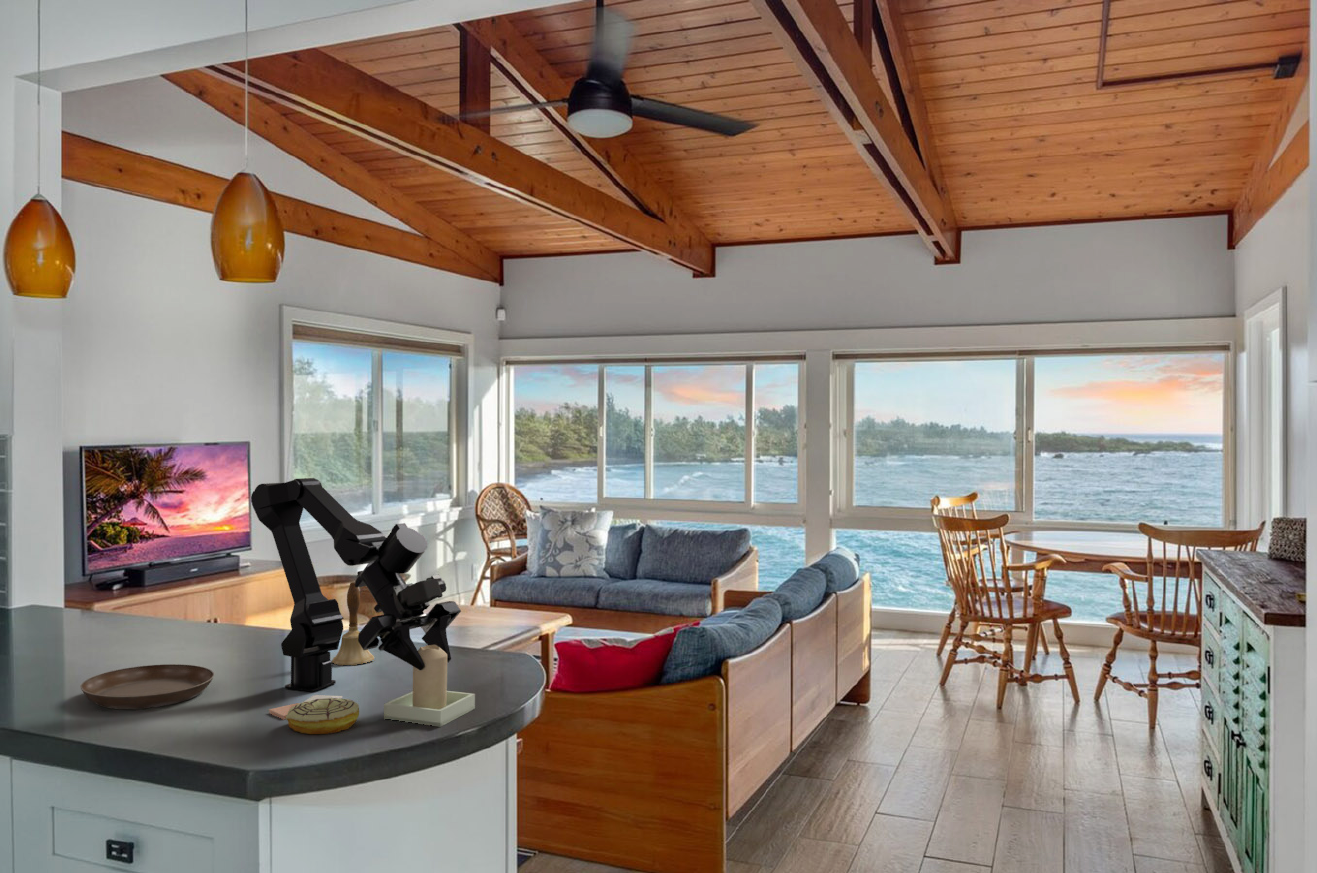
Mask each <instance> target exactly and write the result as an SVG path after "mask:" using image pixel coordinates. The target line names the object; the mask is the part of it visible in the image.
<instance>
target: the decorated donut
mask: <svg viewBox="0 0 1317 873" xmlns="http://www.w3.org/2000/svg"><path fill="white" fill-rule="evenodd" d="M359 716H360V705H359V703H357V702H356V701H354V700H351V699H348V698H342V699H340V698H324V699H315V700H312V701H307V702H304V701H302V702H300V703H299V704H298V705H295V706H293V707H292V708H291V709H290V710H289V711H288V714H287V716H286V719H285V720H286V721H287V723H288V727H289V728H290V729H292V730H293V731H294V732H299V733H300V734H308V735H326V734H327V735H328V734H329V733H330V734H336V733H340V732H342V731H346V730H348V729H350V728H351V727H352V726H353V725H354V724H355V723H356V722H357V719H358V718H359ZM349 727H350V728H349ZM341 730H342V731H341Z"/></svg>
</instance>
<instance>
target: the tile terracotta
mask: <svg viewBox="0 0 1317 873" xmlns="http://www.w3.org/2000/svg"><path fill="white" fill-rule="evenodd" d="M298 704H300V703H299V702H296V703H292V704H287V705H282V706H279V707H274V708H269V709H268V714H269V713H270V715H271V714H272V716H273V717H276V716H277V717H276V718H278V717H279V718H278V719H280V718H281V720H283V721H285V720H286V716H287V714H288V711H289V710H290V709H291V708H292V707H293V706H295V705H298ZM284 719H285V720H284Z"/></svg>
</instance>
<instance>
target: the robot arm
mask: <svg viewBox="0 0 1317 873" xmlns="http://www.w3.org/2000/svg"><path fill="white" fill-rule="evenodd" d="M250 501H251V505H252V508H253V510H254V512H255V515H256V517H257V519H258V521H259V522H260V523H261V524H262V525H264V526H265V527H266V528H267V529H268V530H269V531H271V534H272V536H273V539H274V543H275V547H276V550H277V552H278V556H279V560H280V563H281V565H282V568H283V572H284V574H285V578H286V582H287V584H288V588H289V591H290V593H291V594H290V595H291V596H292V597H291V598H292V601H293V604H294V605H293V608H292V612H291V614H290V618H289V623H290V628H291V630H290V631H289V633H288V634H287V635H286V637H285V638H284V639H283V641H282V642H281V644H280V647H281V651H282V654H283V656H286V657H290V683H288V684H285V685H284V689H288V690H297V691H305V692H316V691H319V690H321V689H324V688H327V687H329V686H330V687H331V686H332V685H334V684H336V682H337V681H336V680H334V679H333V663H332V660H331V652H332V651H337V650H339V647H340V644H341V640H342V635H343V631H344V624H343V620H344V616H343V615H342V613H341V610H340V607H339V603H338V601H337V599H336V598H331V599H328V597H326V596H325V595H323V592H322V590H321V587H320V583H319V580H318V577H317V574H316V572H315V569H314V564H313V562H312V559H311V555H310V552H309V549H308V546H307V543H306V541H305V540H306V539H305V537H304V533H303V531H302V527H301V524H300V521H301V519H302V515H303V511H304V510H305V511H306V512H307V513H308V514H309V515H310V516H311V517H312V518H313V519H314V520H315V521H316V522H317V523H318V524H319V525H320V526H321V527H322V528H323V530H325V532H327V533H328V534H329V535H330V536H331V538H332V540H333V548H334V550H335V551H336V553H337V555H338V557H340V559H341V560H342V562H343V563H344V564H345V565H346V566H349V567H352V566H353V567H354V566H358V565H359V566H361V565H366V564H367V565H366V566H365V567H364V569H363V570H359V571H357V572H356V579H355V581H354V582H355V587H358V588H362V587H366V588H367V590H368V591H369V592H370V594H371V596H372V597H373V599H374V601H375V603H376V605H375V606H374V607H373V609H374V611H375V613H376V614H377V613H382V614H380V615H375V616H371V618H370V619H369V621H367V623H366V624H364V626H363V628H362V629H360V633H359V635H358V642H359V643H360V645H361V647H362V648H363V650H372V649H375V648H377V647H378V648H377V649H378V650H379V651H380V652H381V651H384V652H385V653H388V654H390V655H391V656H394V657H396V658H398V659H400V660H402V661H403V662H405V663H407V664H409V665H410V666H412V667H413V666H414V667H415V668H417V669H419V670H423V669H424V668H425V664H424V662H423V660H422V658H421V656H420V654H419V652H418V649H417V647H416V645H415V643H414V642H413V640H412V638H411V632H410V630H413V629H417V628H420V629H422V630H423V632H424V635H423V636H422V637H421V640H422V641H423V642H424V643H425V644H426V645H437V646H438V647H440V648H441V649H442V650H443V651H445V652H446V654H447V664H448V663H450V661H451V660H452V657H451V656H452V655H451V651H450V646H449V642H448V636H447V628H448V627H449V626H450V625H451V623H452V622H453V621H454V620H455V619H456V618H457V617H458V616H459V614H460V613H461V612H462V611H461V609H460V607H459V605H458V603H457V602H456V601H452V600H447V601H442V602H439V603H438V602H437V603H435V604H434V606H432V608H431V609H430V611H428V613H425V612H424V611H425V610H427V609H428V608H429V607H430V605H431V604H430V603H429V602H432V601H433V600H435V599H437V598H438V599H441V598H442V597H443V596H444V595H443V593H445V592H446V591H447V586H446V585H447V584H446V582H445V580H444V579H443V578H442V576H441V575H440V574H435V575H434V574H433V575H431V576H430V577H427V578H425V580H420V581H417V582H415V583H412V582H411V583H407V582H405V580H404V578H403V577H402V575H401V574H403V575H404V574H407V573H408V572H409V571H410V570H411V569H412V568H413V567H414V566H415V564H416V563H417V562H418V560H419V559H420V558H421V557H422V556H423V554H424V553H425V551H426V550H427V549H428V541H427V540H426V537H425V536H424V535H423V534H421V533H419V532H418V531H417V530H415V529H412V528H411V527H408V526H407V524H406V523H405V522H404V523H402V522H401V523H395V524H394V526H393V527H392V529H391V530H390V532H389V534H387V536H386V537H385V535H384V533H383V532H382V531H381V530H379V529H377V528H376V527H374V526H373V525H371V524H369V523H366V522H363V521H360V520H359V519H357V518H355V517H353V515H351V514H350V513H349V512H348V510H347V509H345V508H344V507H343V505H342V504H340V503H339V502H338V500H336V499H335V498H334V497H333V496H332V495H331V494H330V493H329V492H328V491H327V490H326V489H325V487H323V485H322V482H321V481H320V480H319V479H317V478H314V477H307V478H306V477H305V478H295V479H293V480H289V481H286V482H272V483H271V482H269V483H267V482H266V483H260V484H258V485H257V486H256V487H255V489H254V491H253V492H252V493H251V496H250ZM378 637H379V638H380V640H379V638H378ZM380 642H381V644H380V645H379V643H380Z"/></svg>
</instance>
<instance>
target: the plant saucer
mask: <svg viewBox="0 0 1317 873" xmlns="http://www.w3.org/2000/svg"><path fill="white" fill-rule="evenodd" d="M214 677H215V672H214V671H213V670H211V669H210V668H208V667H204V666H199V665H195V664H178V663H177V664H173V663H172V664H170V663H169V664H167V663H166V664H165V663H164V664H151V665H150V664H149V665H142V666H141V665H138V666H134V667H133V666H131V667H125V668H121V669H119V668H118V669H116V670H111V671H106V672H103V673H100V674H97V675H93V676H91V677H89V678H88V679H86V680H85V681H84V680H83V682H82V683H81V684H80V690H81V691H82V692H83V694H84V695H85V696H86V697H87V699H89V700H90V701H92V702H93V703H95V704H96V705H98V706H100V707H103V708H106V707H107V708H106V709H112V708H115V709H114V710H140V709H139V708H142V709H151V708H150V707H152V708H159V707H165V706H169V705H174V704H179V703H183V702H185V701H188V700H191V699H193V698H195V697H197V696H199V695H200V694H201V693H202V692H204V690H206V689H207V687H208V686H209V685H210V684H211V682H212V681H213V679H214ZM164 705H165V706H164ZM158 706H159V707H158Z"/></svg>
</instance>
